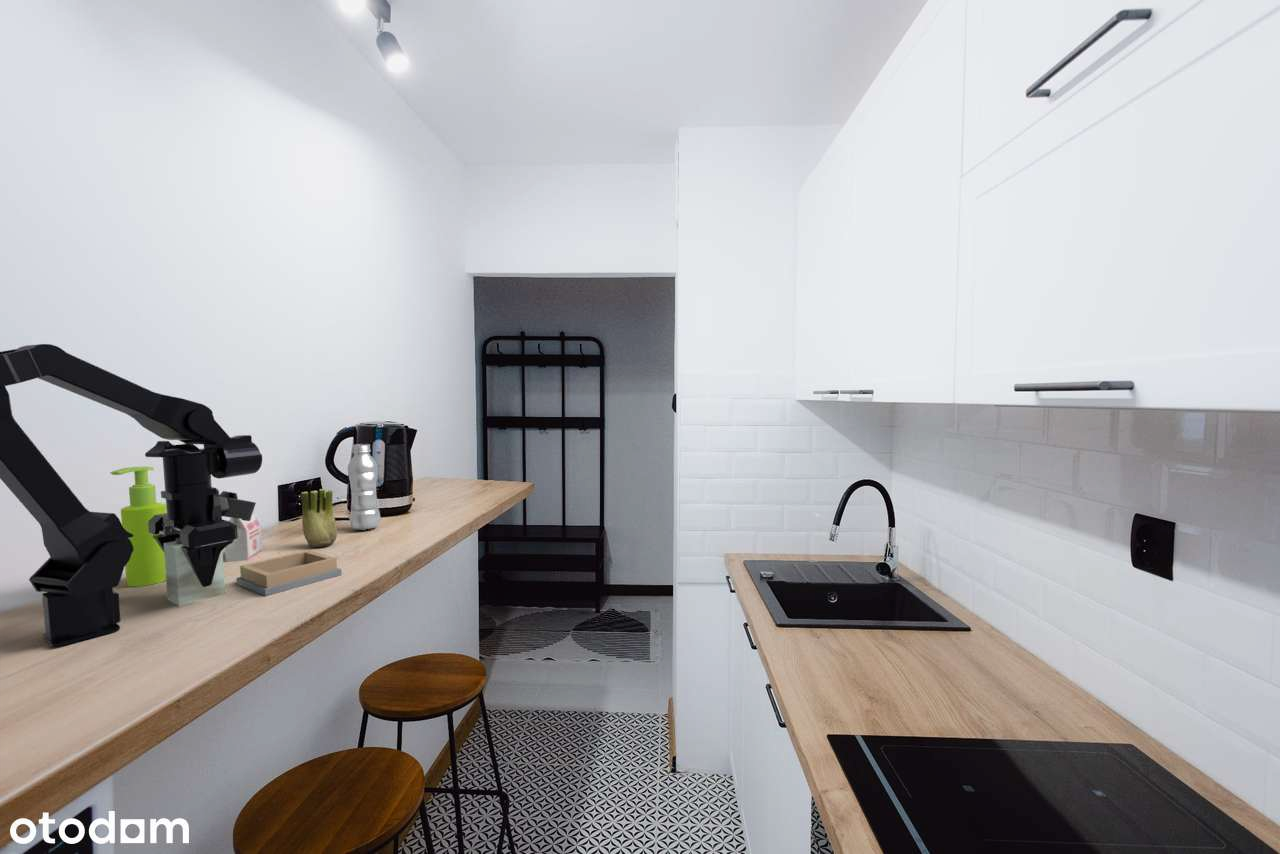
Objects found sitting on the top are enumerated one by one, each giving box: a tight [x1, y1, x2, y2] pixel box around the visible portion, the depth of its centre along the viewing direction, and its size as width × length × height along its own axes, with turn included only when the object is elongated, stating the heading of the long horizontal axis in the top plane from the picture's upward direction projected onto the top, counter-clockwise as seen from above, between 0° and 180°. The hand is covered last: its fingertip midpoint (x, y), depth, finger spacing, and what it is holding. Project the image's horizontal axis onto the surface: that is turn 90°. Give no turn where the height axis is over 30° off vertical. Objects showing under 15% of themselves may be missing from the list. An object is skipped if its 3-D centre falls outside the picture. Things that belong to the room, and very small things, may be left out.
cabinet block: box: [164, 538, 226, 607], centre depth 90 cm, size 6×5×10 cm
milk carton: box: [224, 511, 263, 563], centre depth 112 cm, size 4×7×10 cm, turn 14°
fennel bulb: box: [300, 488, 338, 548], centre depth 119 cm, size 6×5×12 cm
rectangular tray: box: [235, 549, 342, 597], centre depth 97 cm, size 12×11×3 cm
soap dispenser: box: [109, 466, 167, 587], centre depth 97 cm, size 6×7×20 cm
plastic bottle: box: [347, 443, 381, 531], centre depth 133 cm, size 6×7×20 cm
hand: (195, 580), depth 90 cm, fingers open, 9 cm apart
